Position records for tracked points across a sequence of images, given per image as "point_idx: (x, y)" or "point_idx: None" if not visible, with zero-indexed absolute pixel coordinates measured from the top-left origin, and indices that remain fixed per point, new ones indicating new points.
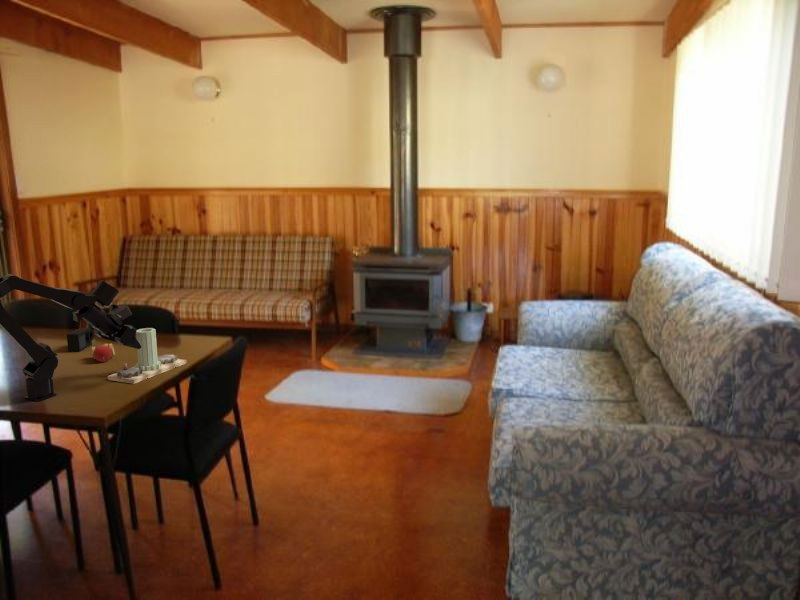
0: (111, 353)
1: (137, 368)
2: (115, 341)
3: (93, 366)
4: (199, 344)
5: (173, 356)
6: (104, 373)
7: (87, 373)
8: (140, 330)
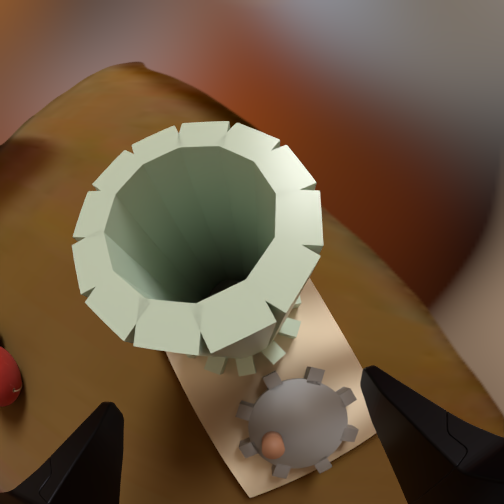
0: (4, 353)
1: (294, 386)
2: (117, 500)
3: (44, 434)
4: (87, 107)
5: None
6: (145, 465)
7: None
8: (115, 265)
